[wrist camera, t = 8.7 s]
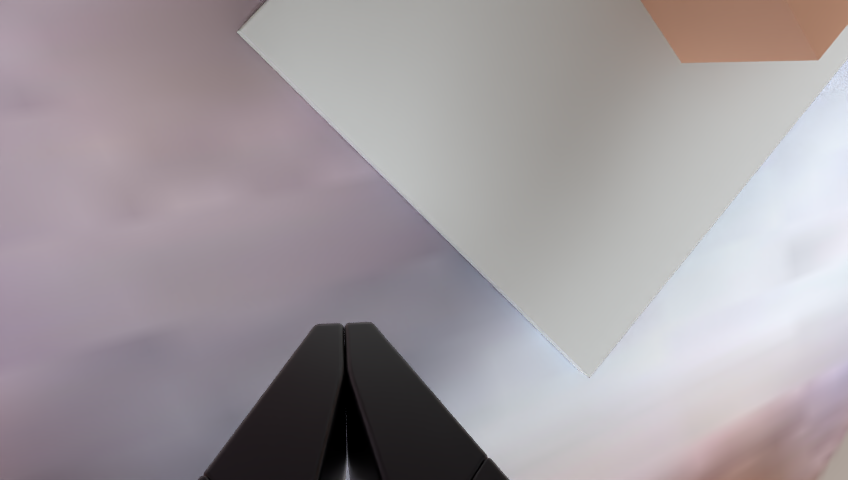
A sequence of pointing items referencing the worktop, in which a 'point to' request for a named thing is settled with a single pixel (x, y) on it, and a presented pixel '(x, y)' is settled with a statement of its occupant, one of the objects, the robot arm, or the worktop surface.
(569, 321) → the rubber mat
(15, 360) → the worktop surface
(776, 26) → the terracotta block
